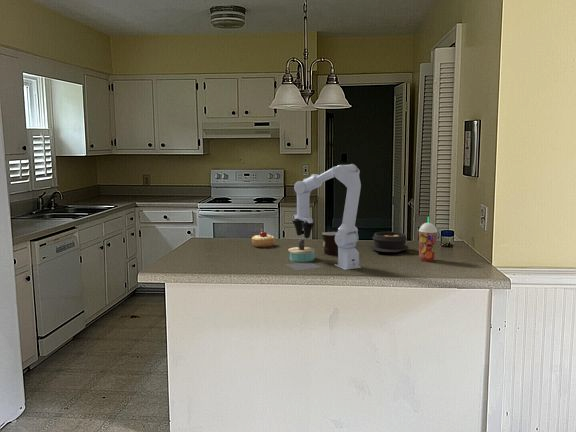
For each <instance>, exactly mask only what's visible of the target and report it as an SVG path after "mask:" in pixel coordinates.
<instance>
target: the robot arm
mask: <svg viewBox="0 0 576 432" xmlns="http://www.w3.org/2000/svg"><path fill="white" fill-rule="evenodd" d="M360 172H361V170H360V169H359V168H358V167H357V165H355V164H354V163H350V164H338V165H337V166H333V167H331V168H329V169H328V170H326V171H324V172H322V173H321V174H318V173H316V174H315V173H312V174H311V175H310V176H308V177H306V178H303V180H302V181H301V180H298V181H296V182H295V183H294V187H293V189H294V192H295V194H296V214H294V215H293V216H294V218H293V219H294V220H292V224H293V225H294V228H295V232H296V236H302V235H303V236H304V239H309V238H310V237H311V233H312V229H313V227H314V226H315V222H313V220H314V219H313V218H312V217H311V216H310V196H311V193H312V191H313V190H315V189H317V188H320V187H321V186H322V185H323V183H324V182H326V181H328V180H330V179H333V178H336V179H337V181H339V182H340V183H342V184H343V185H344V186H345V188H346V195H345V196H346V197H345V200H344V201H345V203H344V210H343V215H342V220H341V221H342V222H341V224H340V226H339V227H338V228H337V231H336V232H337V234H336V236H335V242H336V244H337V245H338V254H337V263H335V264H334V267H335V266H336V267H338V268H340V269H342V270H344V271H345V270H351V269H352V270H353V269H361V266H360V252H359V251H358V250H357V248H356V245H357V242H359V234H358V231H359V229H358V227H357V226H356V220H357V215H358V208H359V207H358V206H359V200H360V195H361V188H362V184H361V183H362V182H361V179H360Z"/></svg>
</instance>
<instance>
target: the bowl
mask: <svg viewBox="0 0 576 432" xmlns="http://www.w3.org/2000/svg"><path fill="white" fill-rule="evenodd" d="M289 260H290V261H292V262H295V263H296V262H297V263H304V262H312V261H315V251H314V252H313V253H309V254H294V253H290V252H289Z"/></svg>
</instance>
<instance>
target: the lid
mask: <svg viewBox="0 0 576 432" xmlns="http://www.w3.org/2000/svg"><path fill="white" fill-rule="evenodd" d="M288 252H289V254H290V253H294V254H309V253H313V252H314V253H315V248H313V247H308V246H305V239H298V246H296V247H290V248H288Z"/></svg>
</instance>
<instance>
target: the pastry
mask: <svg viewBox="0 0 576 432" xmlns="http://www.w3.org/2000/svg"><path fill="white" fill-rule="evenodd" d="M275 239H276V238H275V236H274V235H271V234H269V233H268V232H266V231H264V230H263V229H262V228H261V231H260V232H259V234H258V235H257V234H256V235H253V236H252V237H251V243H252V246H253V247H255V248H261V247H264V248H271V247H273V246H274V244H275V242H276V241H275Z"/></svg>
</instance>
